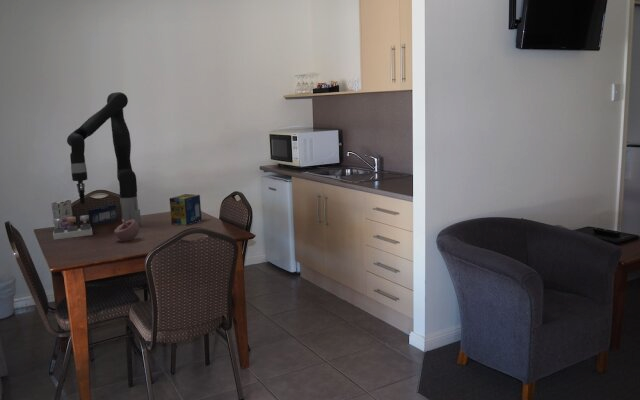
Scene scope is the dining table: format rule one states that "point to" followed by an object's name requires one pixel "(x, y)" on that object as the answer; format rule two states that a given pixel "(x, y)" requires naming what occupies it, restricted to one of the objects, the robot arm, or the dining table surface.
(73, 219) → the dial knob
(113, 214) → the vhs cassette tape
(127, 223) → the mortar and pestle
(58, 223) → the plunger
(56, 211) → the candy bar box
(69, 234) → the grey knob panel
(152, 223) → the dining table surface
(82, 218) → the plunger
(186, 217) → the protein box
